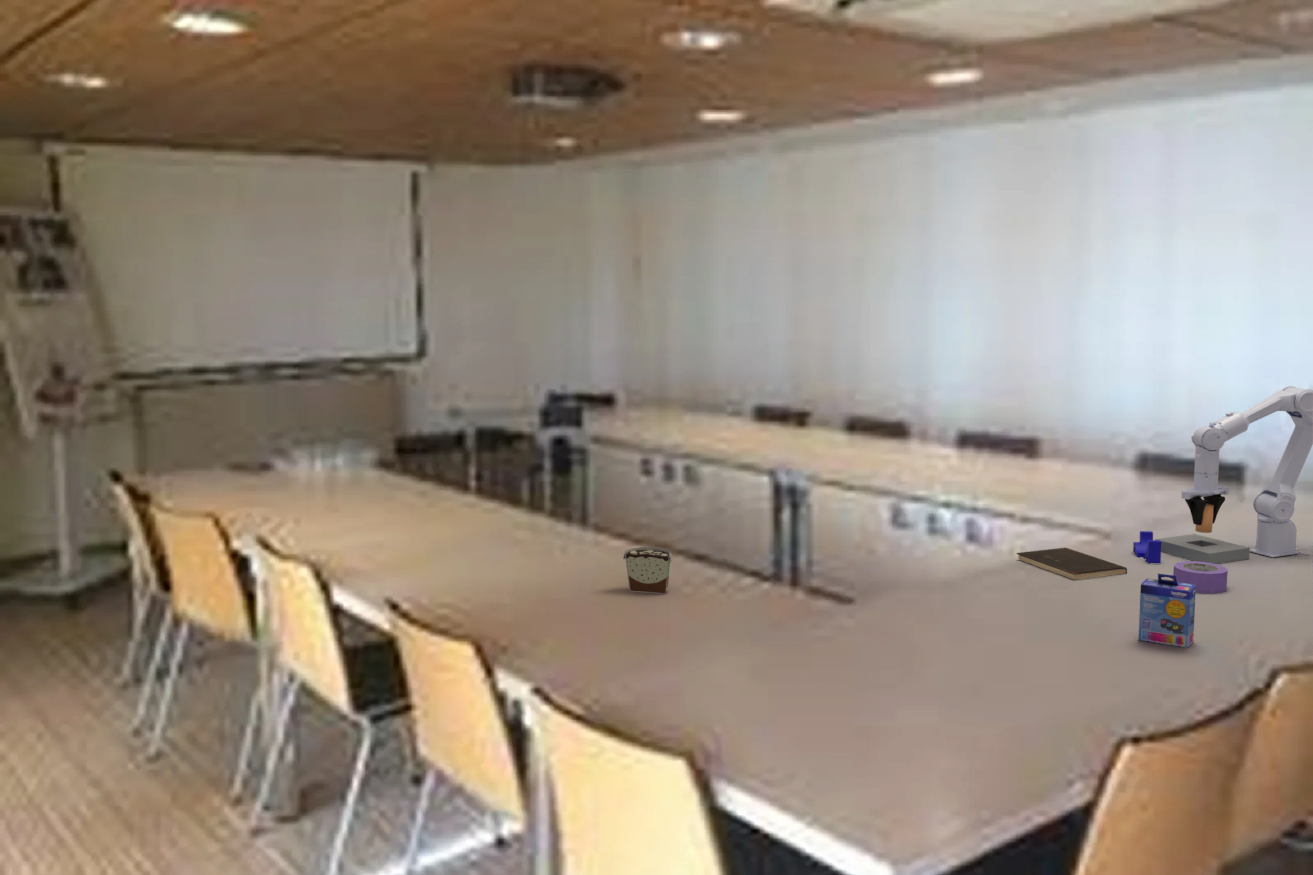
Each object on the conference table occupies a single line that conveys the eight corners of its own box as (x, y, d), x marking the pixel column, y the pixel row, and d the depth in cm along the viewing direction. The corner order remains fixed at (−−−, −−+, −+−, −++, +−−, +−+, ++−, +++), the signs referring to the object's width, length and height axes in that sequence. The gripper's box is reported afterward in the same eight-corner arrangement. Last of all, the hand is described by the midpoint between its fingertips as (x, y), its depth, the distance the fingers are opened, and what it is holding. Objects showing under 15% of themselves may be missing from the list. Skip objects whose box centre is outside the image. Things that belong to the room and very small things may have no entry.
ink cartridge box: (1136, 641, 252) (1139, 572, 250) (1143, 634, 256) (1146, 566, 254) (1188, 649, 246) (1191, 579, 244) (1194, 641, 251) (1197, 572, 248)
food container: (680, 588, 298) (679, 548, 296) (672, 594, 292) (671, 553, 291) (632, 584, 302) (631, 545, 300) (623, 591, 296) (622, 550, 295)
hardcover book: (1073, 582, 299) (1074, 573, 299) (1016, 561, 321) (1016, 552, 320) (1127, 576, 304) (1127, 566, 304) (1067, 555, 326) (1067, 547, 326)
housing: (1194, 544, 333) (1194, 533, 333) (1249, 559, 317) (1249, 547, 316) (1154, 550, 328) (1155, 539, 327) (1208, 565, 311) (1209, 553, 311)
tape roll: (1226, 583, 294) (1227, 563, 294) (1226, 596, 284) (1227, 575, 283) (1173, 579, 299) (1174, 559, 299) (1171, 591, 289) (1172, 570, 288)
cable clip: (1133, 553, 326) (1133, 531, 325) (1150, 553, 325) (1151, 531, 324) (1141, 564, 314) (1142, 541, 314) (1160, 564, 314) (1161, 541, 313)
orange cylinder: (1203, 528, 323) (1205, 502, 322) (1215, 532, 320) (1217, 505, 319) (1191, 530, 322) (1193, 504, 321) (1203, 533, 318) (1205, 507, 317)
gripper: (1197, 477, 312) (1195, 529, 314) (1239, 472, 318) (1236, 523, 320) (1176, 473, 319) (1173, 524, 321) (1217, 468, 324) (1214, 518, 326)
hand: (1203, 523), depth 321 cm, fingers closed on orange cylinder, 4 cm apart
